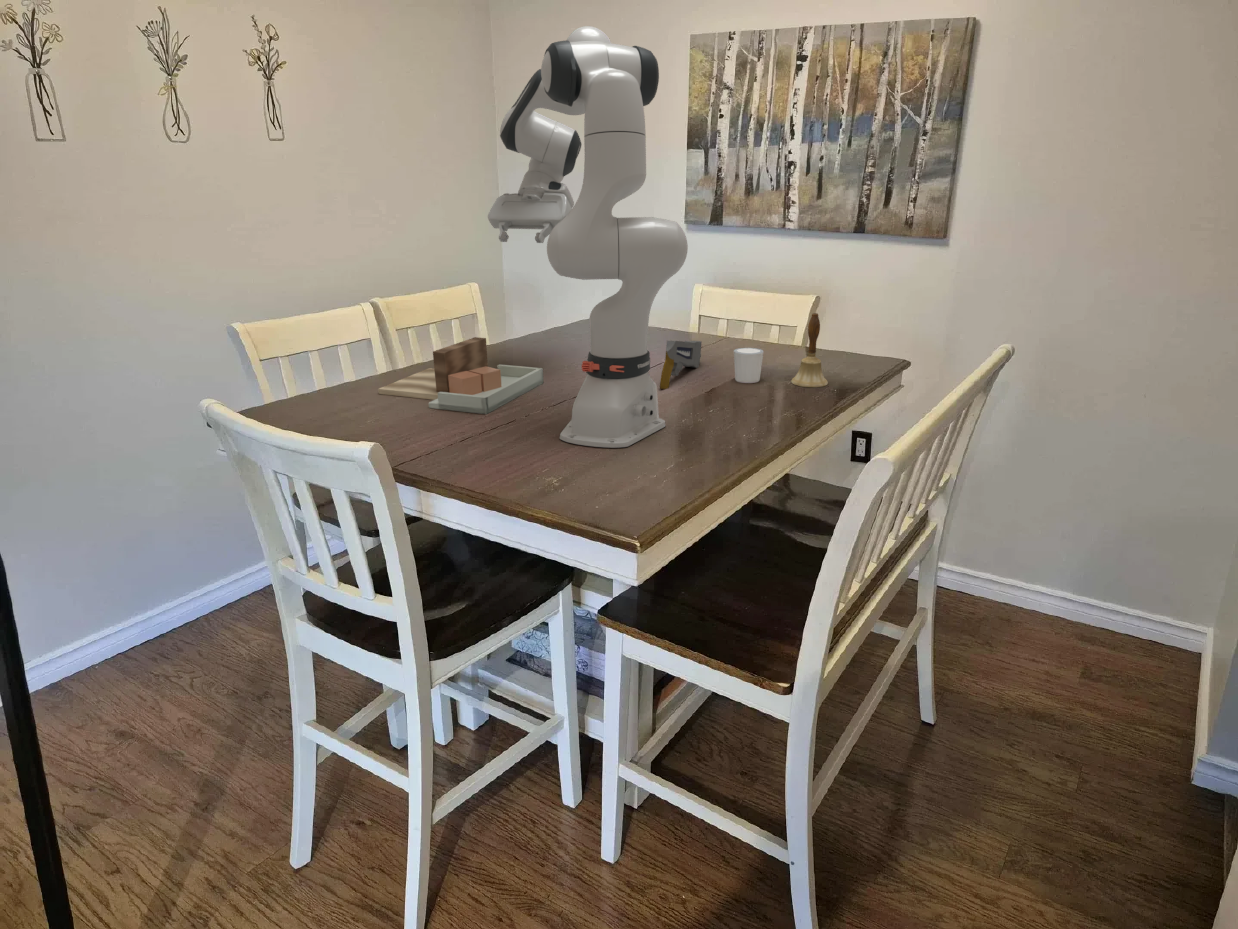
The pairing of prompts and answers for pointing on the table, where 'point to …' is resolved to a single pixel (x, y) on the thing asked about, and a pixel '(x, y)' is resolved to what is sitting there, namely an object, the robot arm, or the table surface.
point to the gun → (679, 359)
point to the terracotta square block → (489, 377)
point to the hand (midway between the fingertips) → (520, 240)
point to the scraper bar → (458, 360)
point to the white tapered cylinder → (748, 364)
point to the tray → (493, 391)
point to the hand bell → (811, 360)
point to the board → (414, 386)
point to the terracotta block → (465, 383)
